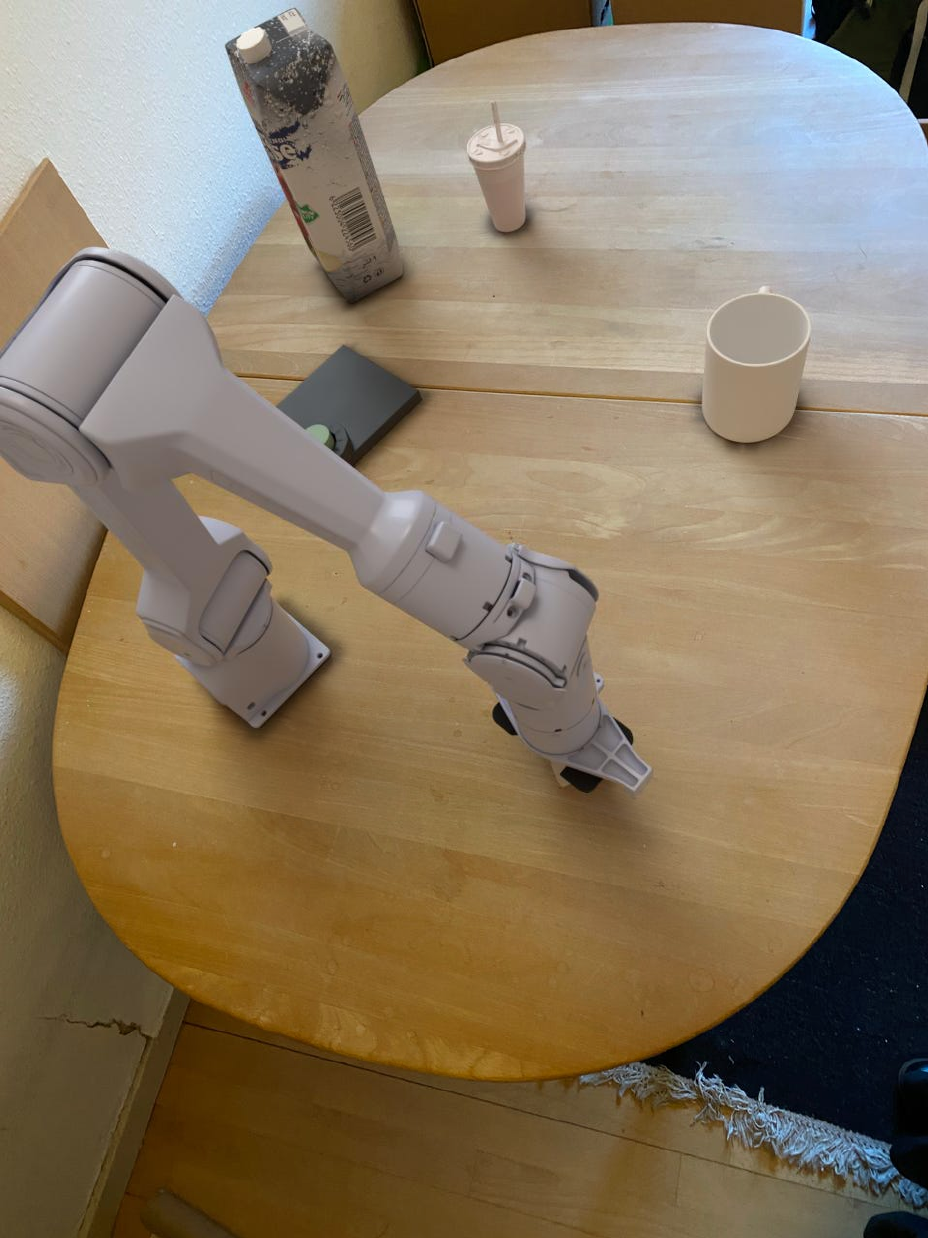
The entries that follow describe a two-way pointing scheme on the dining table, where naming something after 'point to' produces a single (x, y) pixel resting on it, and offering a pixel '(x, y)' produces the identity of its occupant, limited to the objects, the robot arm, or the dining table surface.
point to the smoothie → (500, 171)
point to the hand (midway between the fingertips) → (570, 755)
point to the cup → (754, 365)
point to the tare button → (322, 435)
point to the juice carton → (317, 150)
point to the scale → (351, 402)
